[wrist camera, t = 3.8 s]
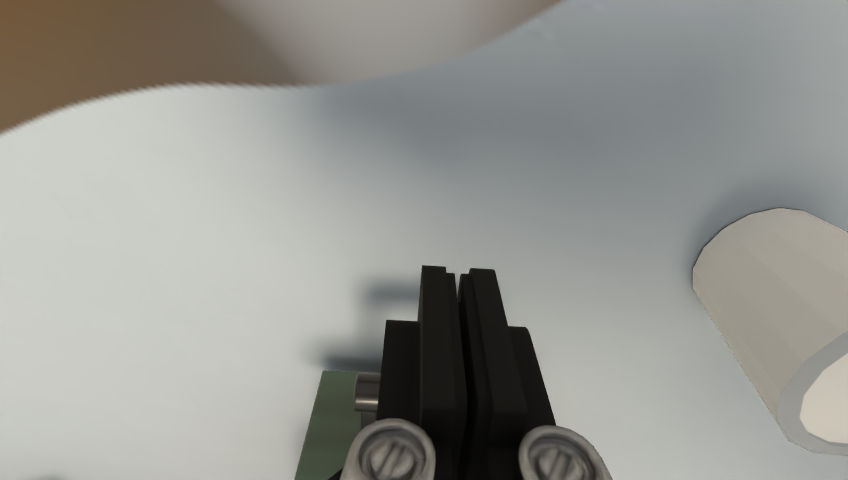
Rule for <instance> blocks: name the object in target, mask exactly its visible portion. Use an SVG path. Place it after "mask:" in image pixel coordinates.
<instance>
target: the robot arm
mask: <svg viewBox="0 0 848 480" xmlns="http://www.w3.org/2000/svg"><path fill="white" fill-rule="evenodd" d="M328 480H613V479H612V477H611V475H610V473H609V471H608V469H607V467H606V465H605V464H604V462H603V460H602V458H601V456H600V455H599V453H598V452H597V451H596V449H595V448H594V446H593V445H592V444H590V443H589V442H588V441H587V440H586V439H585V438H584V437H583V436H581V435H579V434H577V433H576V432H574V431H572V430H570V429H567V428H564V427H560V426H556V423H555V419H554V416H553V413H552V409H551V406H550V402H549V399H548V395H547V392H546V388H545V385H544V382H543V378H542V375H541V371H540V368H539V364H538V361H537V357H536V354H535V350H534V347H533V344H532V340H531V337H530V334H529V331H528V329H527V328H526V327H513V326H508V324H507V320H506V316H505V311H504V307H503V303H502V299H501V295H500V290H499V286H498V282H497V278H496V273H495V270H493V269H477V268H471V269H470V271H469V274H461V276H460V282H459V289H458V297H457V293H456V283H455V274H454V273H446V267H442V266H424V265H422V273H421V285H420V297H419V309H418V321H399V320H386V328H385V338H384V348H383V357H382V367H381V377H380V387H379V397H378V406H377V416H376V421H375V422H373V423H372V424H370V425H368V426H366V427H364V428H363V429H362V430H361V431H360V432H359V433H358V434H357V435H356V437H355V439H354V441H353V443H352V445H351V447H350V449H349V452H348V455H347V459H346V462H345V465H344V467H343V468H342V469H340V470H339V471H338V472H337V473H335V474H334V475H333V476H332V477H330V478H329V479H328Z"/></svg>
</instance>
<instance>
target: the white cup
mask: <svg viewBox="0 0 848 480" xmlns="http://www.w3.org/2000/svg"><path fill="white" fill-rule="evenodd" d="M693 290H694V292H695V293H696V295H697V296H698V298H699V300H700V301H701V303H702V305H703V306H704V308H705V309H706V311H707V313H708V314H709V316H710V317H711V319H712V321H713V322H714V324H715V325H716V327H717V328H718V330H719V332H720V333H721V335H722V336H723V338H724V339H725V341H726V343H727V344H728V346H729V347H730V349H731V351H732V352H733V354H734V355H735V357H736V358H737V360H738V362H739V363H740V365H741V366H742V368H743V369H744V371H745V373H746V374H747V376H748V377H749V379H750V381H751V382H752V384H753V385H754V387H755V388H756V390H757V392H758V393H759V395H760V396H761V398H762V399H763V401H764V403H765V404H766V406H767V407H768V409H769V411H770V412H771V414H772V415H773V417H774V418H775V420H776V422H777V423H778V425H779V426H780V428H781V429H782V431H783V433H784V434H785V436H786V437H787V439H788V441H790V442H793V443H795V444H797V445H799V446H801V447H803V448H805V449H807V450H810V451H812V452H814V453H821V454H833V455H844V456H848V232H846V231H844V230H842V229H840V228H838V227H836V226H834V225H832V224H830V223H828V222H825V221H823V220H821V219H819V218H817V217H815V216H813V215H811V214H809V213H807V212H805V211H801V210H792V209H783V208H776V209H771V210H767V211H762V212H758V213H753V214H749V215H748V216H746V217H744V218H742V219H740V220H738V221H736V222H735V223H733V224H731V225H729V226H727V227H725V228H723V229H722V230H721V231H720V232H719V233H718V234H717V235H716V236H715V237H714V238H713V239H712V240H711V241H710V242H709V243H708V244H707V245H706V246H705V247H704V248H703V250H702V252H701V254H700V256H699V258H698V260H697V262H696V264H695V266H694V268H693Z"/></svg>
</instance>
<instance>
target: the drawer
mask: <svg viewBox="0 0 848 480" xmlns="http://www.w3.org/2000/svg"><path fill="white" fill-rule="evenodd" d="M380 377H381V373H364V372H344V371H326V370H324V371H323V372H322V376H321V380H320V384H319V388H318V391H317V395H316V399H315V403H314V407H313V411H312V414H311V418H310V422H309V426H308V430H307V433H306V437H305V441H304V445H303V449H302V453H301V456H300V460H299V464H298V468H297V472H296V476H295V479H294V480H328V479H329V478H330V477H332V476H333V475H334V474H335V473H337V472H338V471H339V470H340V469H342V468H343V467H344V465H345V462H346V459H347V455H348V452H349V449H350V447H351V445H352V443H353V441H354V439H355V437H356V435H357V434H358V433H359V432H360V431H361V430H362V429H363V428H364V427H366V426H368V425H370V424H372V423H373V422H375V421H376V416H377V406H378V397H379V387H380Z"/></svg>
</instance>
